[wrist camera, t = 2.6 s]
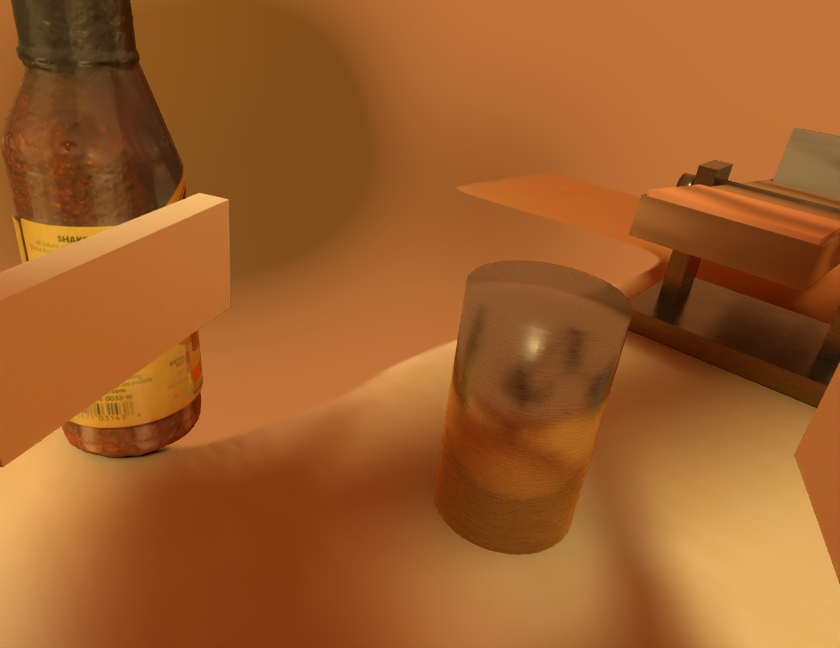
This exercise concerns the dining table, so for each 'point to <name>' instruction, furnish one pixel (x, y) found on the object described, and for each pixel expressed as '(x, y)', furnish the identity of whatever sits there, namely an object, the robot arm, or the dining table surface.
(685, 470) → the dining table surface
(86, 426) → the sauce bottle
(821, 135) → the beam
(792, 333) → the beam stand
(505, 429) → the glass jar
